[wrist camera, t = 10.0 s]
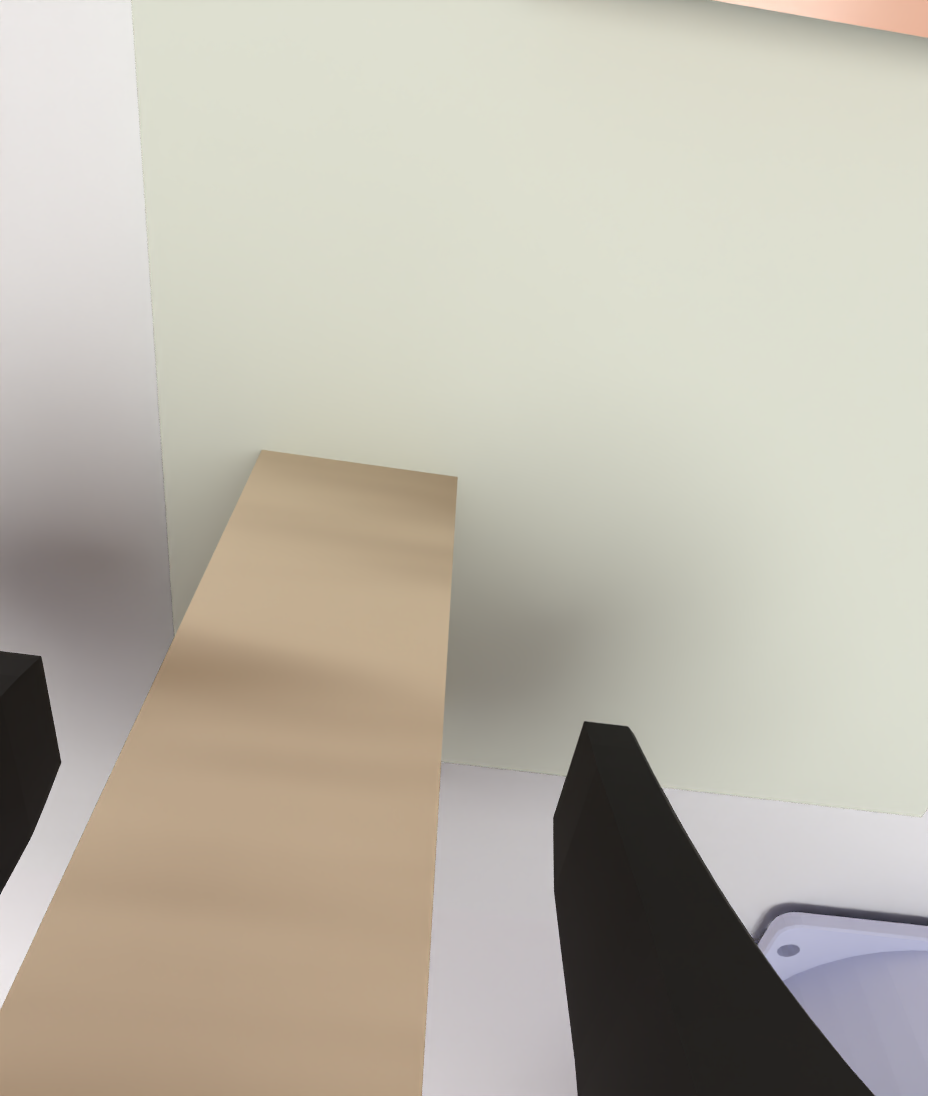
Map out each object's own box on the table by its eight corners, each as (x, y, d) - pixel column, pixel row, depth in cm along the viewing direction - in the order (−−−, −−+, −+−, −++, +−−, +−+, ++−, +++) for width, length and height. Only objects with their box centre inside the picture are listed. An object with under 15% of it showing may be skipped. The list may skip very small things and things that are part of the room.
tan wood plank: (420, 706, 16) (360, 1358, 8) (259, 687, 16) (52, 1337, 8) (457, 477, 13) (418, 1151, 6) (261, 449, 13) (-48, 1110, 5)
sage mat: (911, 797, 18) (921, 817, 17) (188, 713, 17) (180, 731, 16) (2447, -1465, 5) (2614, -1589, 5) (11, -2272, 4) (-38, -2503, 4)
